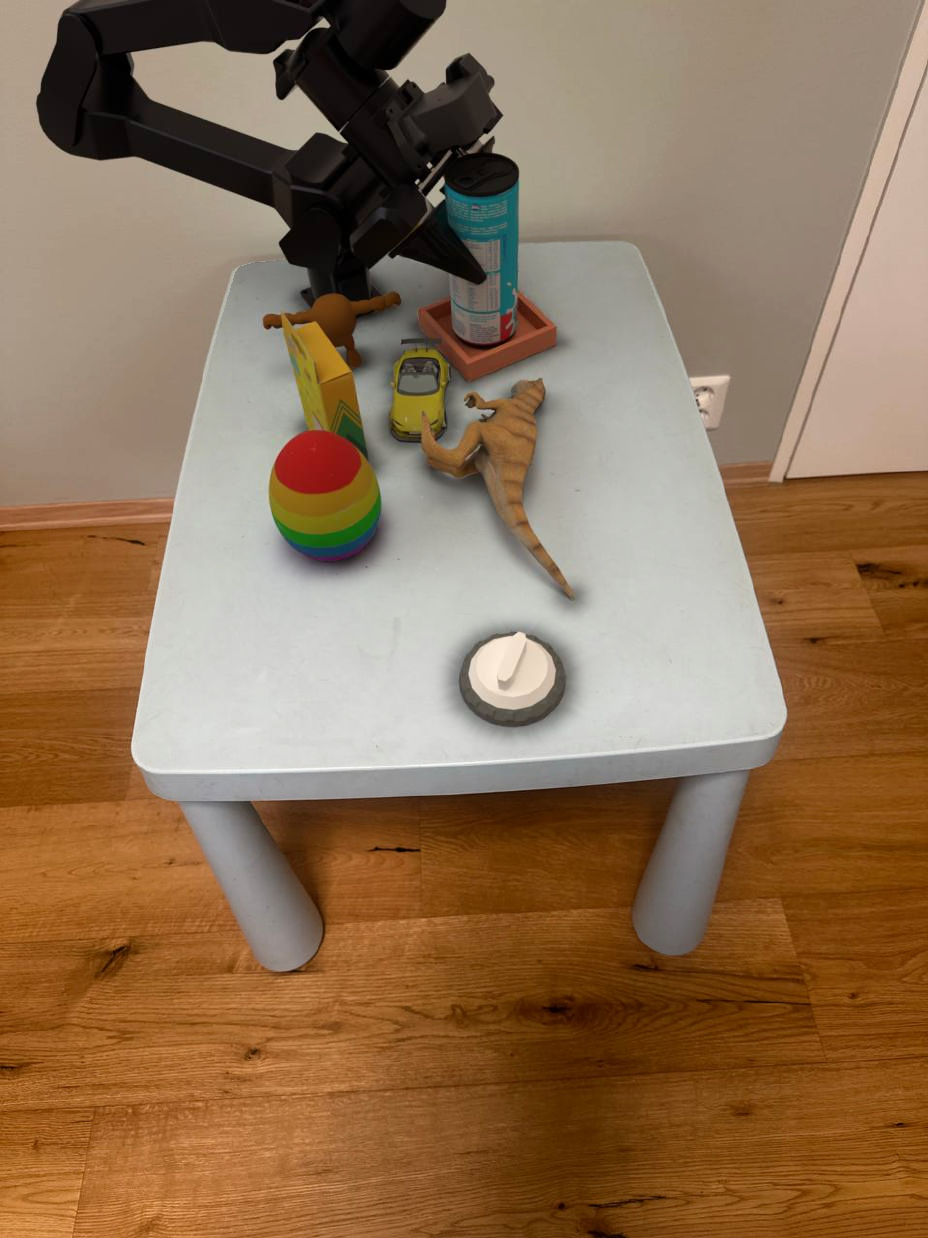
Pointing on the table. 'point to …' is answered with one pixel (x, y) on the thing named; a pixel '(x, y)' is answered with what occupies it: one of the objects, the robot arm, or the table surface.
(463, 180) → the beverage can
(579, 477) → the table surface
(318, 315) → the toy figurine
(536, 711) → the stove knob
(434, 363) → the toy car
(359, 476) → the decorative egg
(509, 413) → the dinosaur figurine
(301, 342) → the crayon box
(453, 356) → the tray
